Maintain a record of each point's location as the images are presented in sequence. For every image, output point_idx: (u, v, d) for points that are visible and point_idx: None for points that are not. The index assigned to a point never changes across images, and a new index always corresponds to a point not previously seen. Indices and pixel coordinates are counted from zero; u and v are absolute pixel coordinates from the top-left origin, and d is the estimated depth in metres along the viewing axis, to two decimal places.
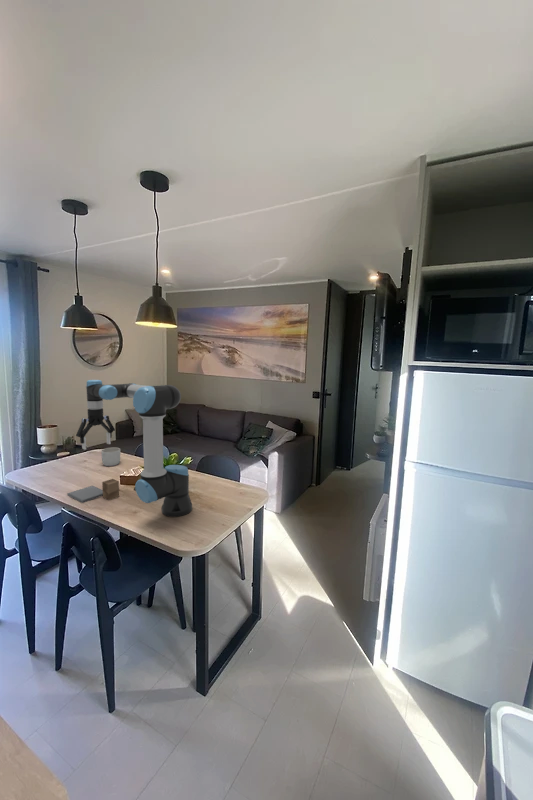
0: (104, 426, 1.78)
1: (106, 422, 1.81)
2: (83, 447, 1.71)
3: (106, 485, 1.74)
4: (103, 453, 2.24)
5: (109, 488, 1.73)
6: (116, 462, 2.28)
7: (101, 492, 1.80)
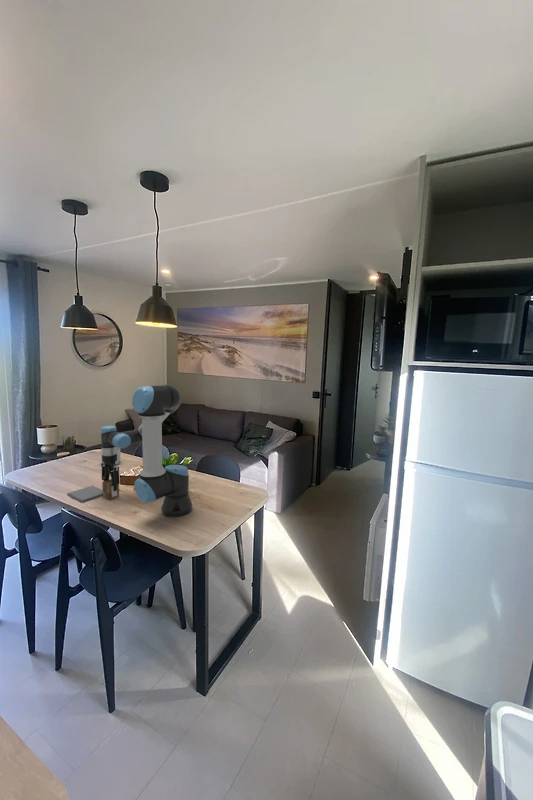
0: (110, 475, 1.74)
1: None
2: None
3: (106, 485, 1.74)
4: None
5: (109, 488, 1.73)
6: (116, 462, 2.28)
7: (101, 492, 1.80)
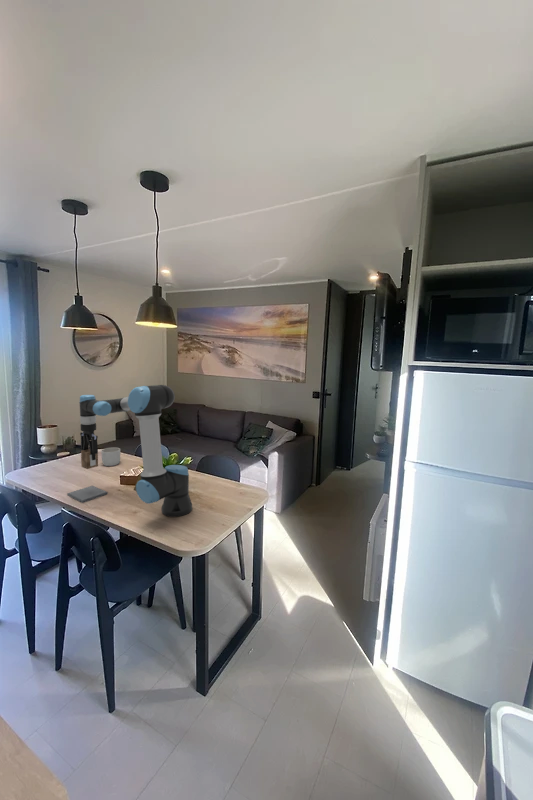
0: (89, 444, 1.74)
1: None
2: None
3: (84, 454, 1.74)
4: (103, 453, 2.24)
5: (88, 457, 1.73)
6: (116, 462, 2.28)
7: (101, 492, 1.80)
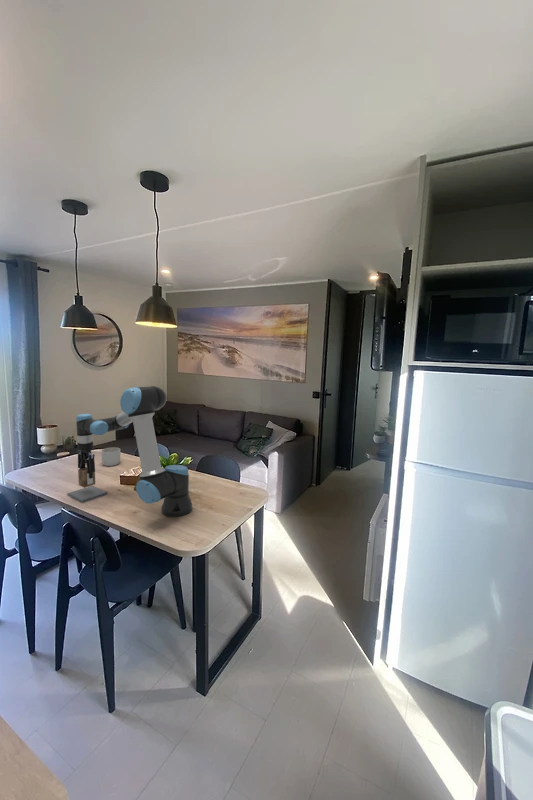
0: (86, 463, 1.75)
1: None
2: None
3: (81, 473, 1.75)
4: (103, 453, 2.24)
5: (85, 476, 1.75)
6: (116, 462, 2.28)
7: (101, 492, 1.80)
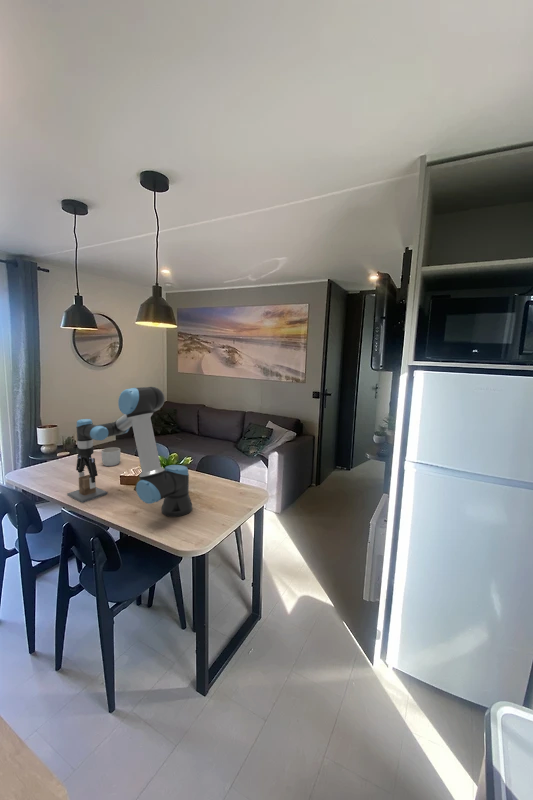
0: None
1: None
2: None
3: (82, 481, 1.76)
4: (103, 453, 2.24)
5: (85, 484, 1.75)
6: (116, 462, 2.28)
7: (101, 492, 1.80)
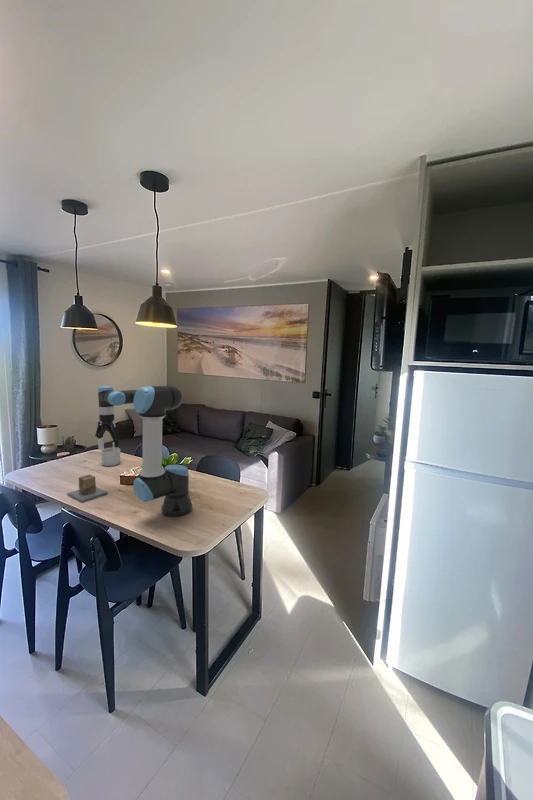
0: (110, 433, 1.77)
1: None
2: None
3: (82, 481, 1.76)
4: (103, 453, 2.24)
5: (85, 484, 1.75)
6: (116, 462, 2.28)
7: (101, 492, 1.80)
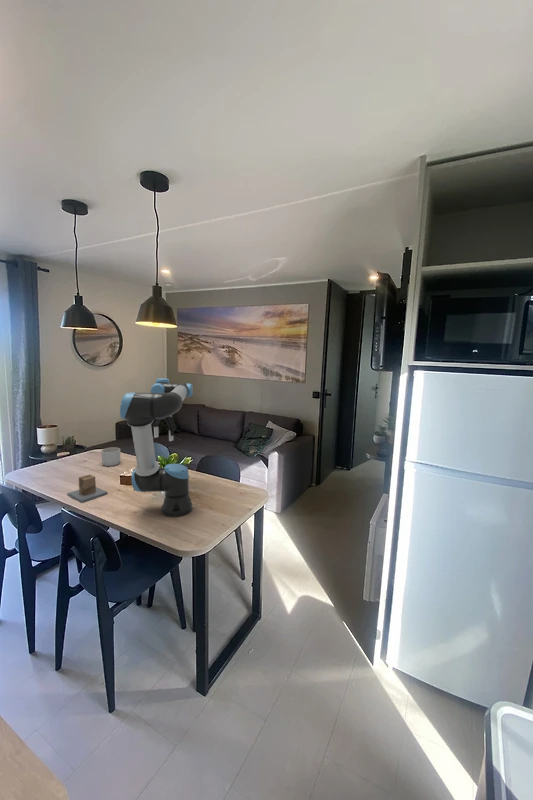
0: (166, 422, 1.89)
1: None
2: None
3: (82, 481, 1.76)
4: (103, 453, 2.24)
5: (85, 484, 1.75)
6: (116, 462, 2.28)
7: (101, 492, 1.80)
